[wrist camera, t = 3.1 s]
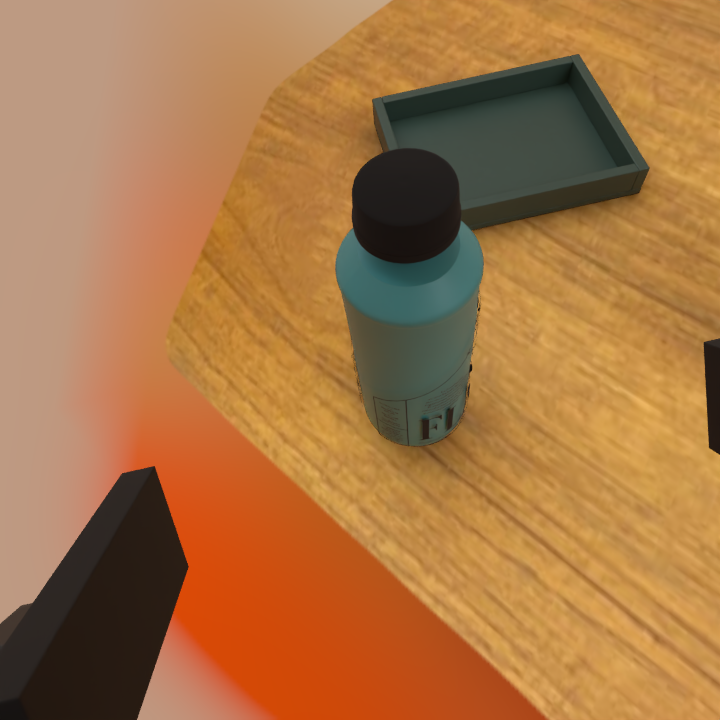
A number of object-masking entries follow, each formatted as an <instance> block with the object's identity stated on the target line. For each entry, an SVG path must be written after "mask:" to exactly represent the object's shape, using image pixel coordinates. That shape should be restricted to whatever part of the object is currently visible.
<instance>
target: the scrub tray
mask: <svg viewBox="0 0 720 720" xmlns="http://www.w3.org/2000/svg"><path fill="white" fill-rule="evenodd" d="M372 103H373V115H374V124H375V127H376V131H377V134H378V137H379V140H380V143H381V146H382V149H383V152H387V151H390V150H394V149H401V148H417V149H423V150H427V151H430V152H432V153H435V154H437V155H439V156H440V157H442V158H443V159H445V160H446V161H447V162H448V163H449V164H450V165H451V166H452V168H453V169H454V171H455V173H456V175H457V178H458V181H459V187H460V204H461V221H462V222H464V223H465V224H466V225H467V226H468V227H469V228H470V230H474V229H478V228H483V227H487V226H492V225H496V224H501V223H505V222H510V221H514V220H519V219H523V218H528V217H532V216H537V215H541V214H546V213H550V212H555V211H559V210H564V209H568V208H573V207H577V206H582V205H586V204H591V203H595V202H600V201H604V200H609V199H613V198H618V197H622V196H627V195H631V194H636V193H639V191H640V189H641V187H642V184H643V182H644V180H645V178H646V175H647V173H648V171H649V167H648V165H647V163H646V162H645V160H644V158H643V157H642V155H641V154H640V152H639V150H638V149H637V147H636V146H635V144H634V142H633V141H632V139H631V137H630V136H629V134H628V133H627V131H626V129H625V128H624V126H623V125H622V123H621V121H620V120H619V118H618V117H617V115H616V113H615V112H614V110H613V108H612V107H611V105H610V104H609V102H608V100H607V99H606V97H605V96H604V94H603V92H602V91H601V89H600V88H599V86H598V84H597V83H596V81H595V79H594V78H593V76H592V75H591V73H590V71H589V70H588V68H587V67H586V65H585V63H584V62H583V60H582V59H581V57H580V55H579V54H577V55H572V56H567V57H563V58H558V59H554V60H549V61H544V62H540V63H535V64H531V65H526V66H522V67H517V68H512V69H508V70H503V71H499V72H494V73H489V74H485V75H480V76H476V77H471V78H466V79H462V80H457V81H453V82H448V83H443V84H439V85H434V86H430V87H425V88H420V89H416V90H411V91H407V92H402V93H397V94H393V95H388V96H384V97H382V98H381V97H379V98H375V99H373V100H372Z"/></svg>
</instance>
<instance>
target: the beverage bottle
mask: <svg viewBox="0 0 720 720" xmlns="http://www.w3.org/2000/svg"><path fill="white" fill-rule="evenodd" d="M352 203H353V209H352V223H353V228H352V229H351V230H350V232H349V233H348V234H347V235H346V237H345V238H344V240H343V242H342V244H341V246H340V248H339V251H338V254H337V258H336V268H335V270H336V277H337V282H338V285H339V288H340V290H341V293H342V298H343V302H344V307H345V311H346V316H347V321H348V325H349V330H350V334H351V340H352V343H353V348H354V353H353V355H355V358H354V359H355V361H356V366H357V368H356V371H358V376H357V377H359V381H360V386H361V389H360V390H362V393H359V394H362V395H363V400H364V405H365V409H366V413H367V415H368V417H369V419H370V421H371V423H372V424H373V426H374V427H375V428H376V429H377V430H378V431H379V432H380V433H381V434H383V435H384V436H385V437H387V438H388V439H390V440H392V442H393V441H394V443H395V442H396V443H397V444H401V445H402V444H403V445H406V446H425V445H430V444H433V443H436V442H437V441H439V440H440V441H441V439H442V438H444V437H445V436H446V435H448V434H449V433H450V432H451V431H452V430H453V429H454V428H455V427H456V426H457V425H458V422H459V420H461V419H462V418H461V416H462V415H463V413H465V412H464V411H465V410H464V408H465V403H466V401H465V399H467V396H466V391H467V390H468V392H467V394H468V397H469V389H470V384H469V385H468V386H467V384H468V376H469V373H470V372H471V371H472V362H471V354H472V355H473V353H472V347H473V342H474V341H473V339H474V332H475V330H476V329H475V324H476V322H477V321H476V316H477V317H478V314H477V308H478V304H477V302H478V301H479V299H478V293H479V292H480V290H479V285H480V283H481V279H482V275H483V265H484V262H483V254H482V250H481V247H480V244H479V242H478V240H477V238H476V236H475V235H474V233H473V232H472V231H471V230H470V228H469V227H468V226H467V225H466V224H465V223H464V222H462V221H461V204H460V187H459V181H458V178H457V175H456V173H455V171H454V169H453V168H452V166H451V165H450V164H449V163H448V162H447V161H446V160H445V159H443V158H442V157H440V156H439V155H437V154H435V153H432V152H430V151H427V150H423V149H417V148H401V149H394V150H390V151H387V152H384V153H382V154H380V155H378V156H376V157H374V158H373V159H371V160H370V161H368V162H367V163H366V164H365V165H364V166H363V167H362V168H361V169H360V171H359V172H358V174H357V176H356V177H355V180H354V184H353V188H352ZM479 306H481V298H480V303H479ZM478 311H481V310H480V308H478ZM476 326H479V325H476ZM476 334H477V332H476ZM475 337H476V336H475ZM474 340H475V339H474ZM474 347H475V346H474ZM474 347H473V348H474ZM351 354H352V353H351ZM353 355H352V357H353ZM354 359H353V361H354ZM470 362H471V364H470ZM354 364H355V363H354ZM356 366H355V365H354V369H355V367H356ZM354 371H355V370H354ZM355 373H356V372H355ZM355 376H356V375H355ZM357 383H358V378H357ZM357 385H358V386H359V384H357ZM467 387H468V389H467ZM360 392H361V391H360ZM360 399H361V398H360ZM361 402H362V401H361ZM466 408H467V407H466ZM462 417H463V416H462ZM460 418H461V419H460ZM460 423H461V422H460ZM458 426H459V425H458ZM380 433H379V434H380ZM381 434H380V435H381ZM449 435H450V434H449ZM449 435H448V436H449ZM381 436H382V435H381ZM385 437H384V438H385ZM387 438H386V439H387ZM445 438H446V437H445ZM442 440H443V439H442Z"/></svg>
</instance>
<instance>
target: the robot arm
mask: <svg viewBox="0 0 720 720" xmlns="http://www.w3.org/2000/svg"><path fill="white" fill-rule="evenodd" d="M704 358H705V378H706V397H707V416H708V436H709V448H710V449H712V450H713V451H715V452H716V453H718V454H719V455H720V339H715V340H711V341H706V342H704ZM187 570H188V563H187V561H186V558H185V555H184V552H183V549H182V546H181V543H180V540H179V537H178V534H177V531H176V528H175V525H174V523H173V519H172V517H171V513H170V511H169V507H168V504H167V501H166V499H165V496H164V493H163V490H162V487H161V484H160V481H159V478H158V475H157V472H156V469H155V466H153V467H149V468H144V469H140V470H135V471H131V472H127V473H122V474H121V476H120V477H119V479H118V480H117V482H116V483H115V485H114V486H113V487H112V489H111V490H110V492H109V493H108V495H107V496H106V498H105V499H104V500H103V502H102V503H101V505H100V507H99V508H98V509H97V511H96V512H95V514H94V515H93V516H92V518H91V520H90V521H89V522H88V524H87V525H86V527H85V528H84V529H83V531H82V532H81V534H80V535H79V537H78V538H77V540H76V541H75V543H74V544H73V546H72V547H71V548H70V550H69V551H68V553H67V554H66V556H65V557H64V559H63V560H62V561H61V563H60V564H59V566H58V567H57V569H56V570H55V572H54V573H53V575H52V576H51V578H50V579H49V580H48V582H47V583H46V585H45V586H44V588H43V589H42V590H41V592H40V594H39V595H38V596H37V598H36V599H35V601H34V602H33V603H31V604H27V605H22V606H20V607H19V608H18V609H17V610H16V611H15V612H13V613H12V614H11V615H10V616H9V617H8V618H7V619H5V620H4V621H3V622H2V623H1V624H0V720H137V718H138V715H139V712H140V708H141V706H142V703H143V700H144V697H145V694H146V691H147V688H148V685H149V682H150V679H151V676H152V673H153V671H154V668H155V664H156V662H157V659H158V656H159V653H160V649H161V647H162V644H163V641H164V637H165V635H166V632H167V629H168V626H169V623H170V620H171V617H172V614H173V611H174V608H175V605H176V602H177V599H178V597H179V593H180V591H181V588H182V585H183V582H184V579H185V576H186V573H187Z"/></svg>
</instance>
